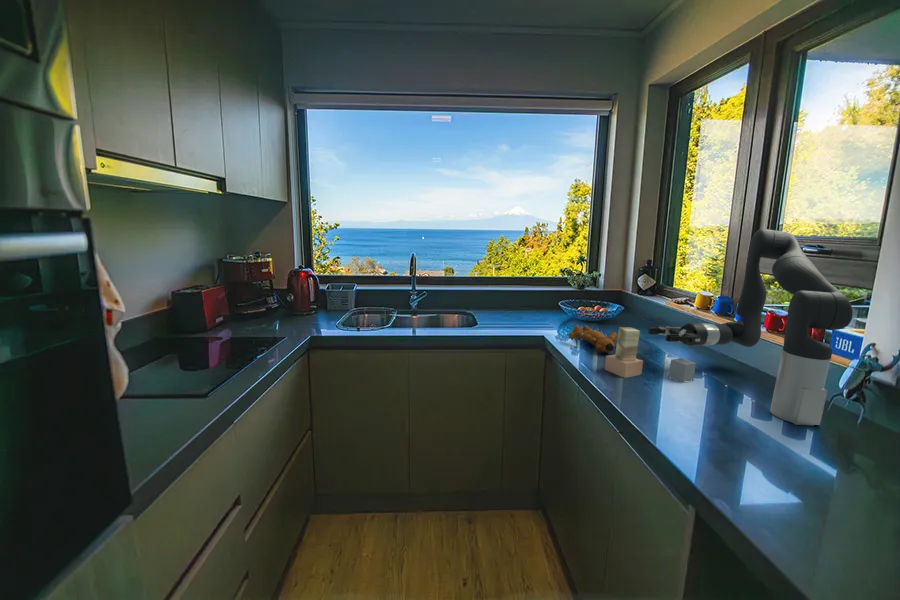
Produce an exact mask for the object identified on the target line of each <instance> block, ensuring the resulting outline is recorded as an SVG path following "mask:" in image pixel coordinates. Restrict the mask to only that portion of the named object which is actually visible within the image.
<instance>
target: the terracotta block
mask: <svg viewBox="0 0 900 600" xmlns="http://www.w3.org/2000/svg"><path fill="white" fill-rule="evenodd" d="M643 364H644V360H642V359H638V358H636V361H622V360H621V359H619V358H617V357H616V356H615V354H612V355H611V354H610V355H606V356H605V364H604V370H605V371H608V372H609V373H612V374H613V375H617V376H619V377H621V378H623V379H626V378H632V377H635V376H636V377H637V376H640V375H641V376H642V371H643Z"/></svg>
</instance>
